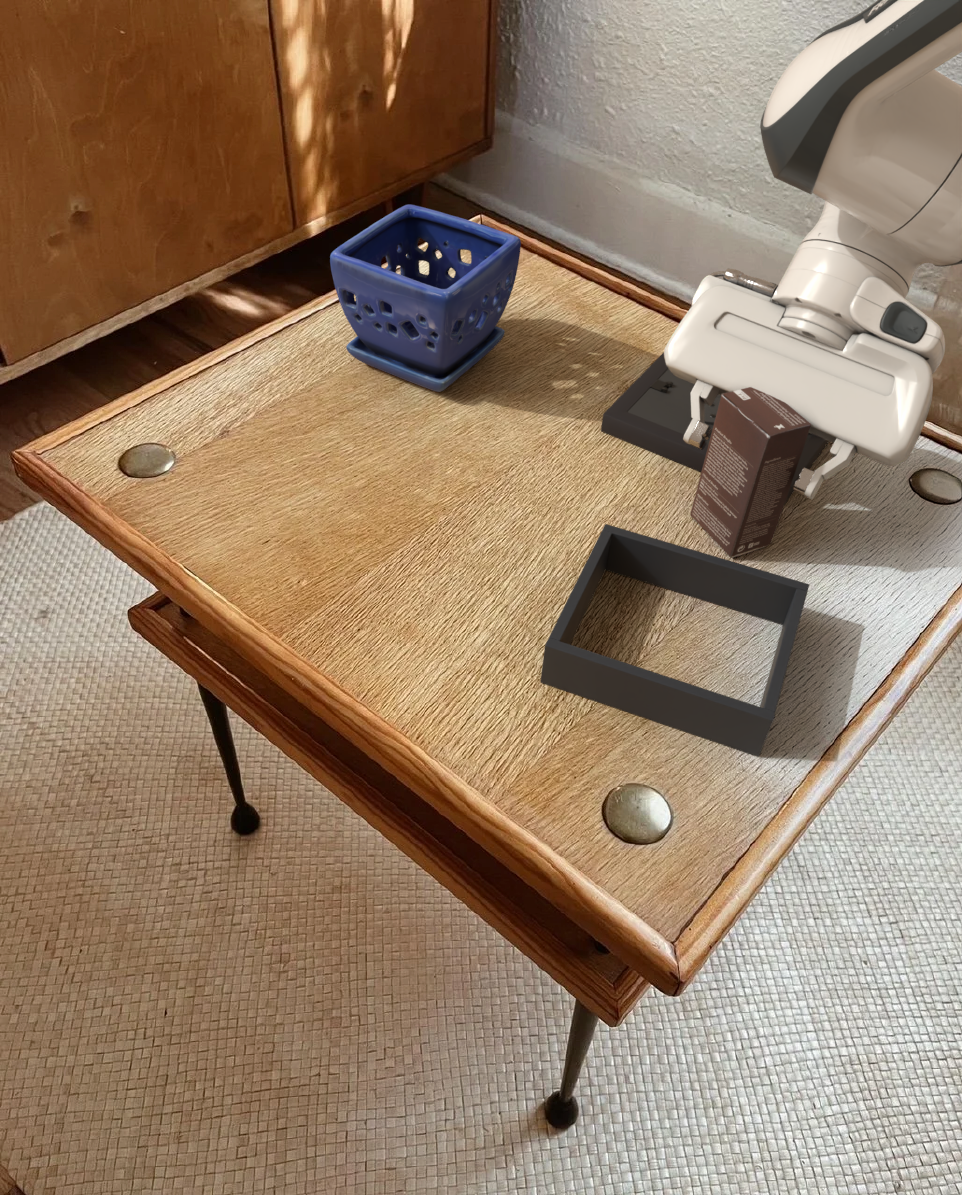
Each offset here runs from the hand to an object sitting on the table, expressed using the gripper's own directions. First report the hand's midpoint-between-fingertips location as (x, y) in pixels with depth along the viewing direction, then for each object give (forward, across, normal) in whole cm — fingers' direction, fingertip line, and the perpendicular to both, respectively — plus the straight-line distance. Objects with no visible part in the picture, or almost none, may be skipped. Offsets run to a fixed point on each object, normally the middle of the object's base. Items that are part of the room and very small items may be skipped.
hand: (746, 469), depth 79 cm
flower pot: (+2, -35, +8) cm, 36 cm away
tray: (+15, +3, -5) cm, 16 cm away
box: (+4, 0, +5) cm, 7 cm away
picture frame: (-4, -7, +14) cm, 16 cm away
